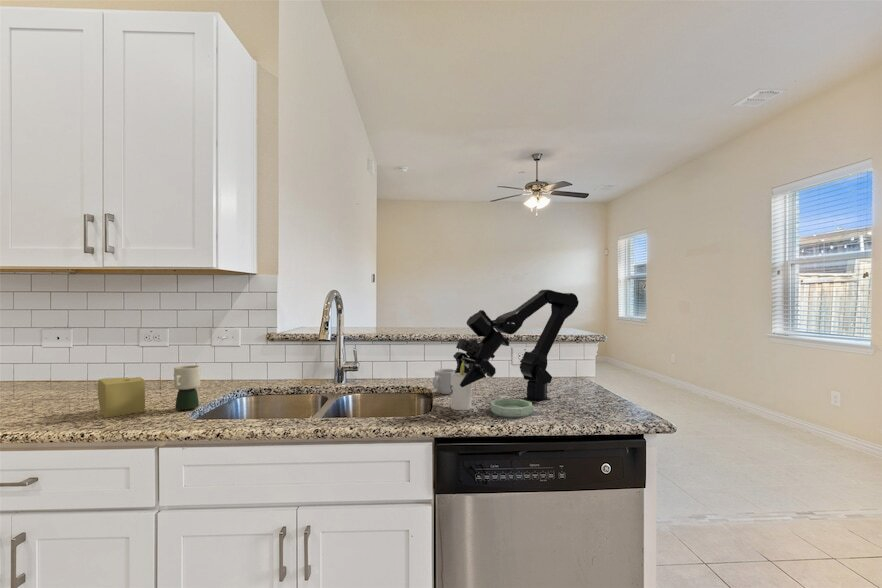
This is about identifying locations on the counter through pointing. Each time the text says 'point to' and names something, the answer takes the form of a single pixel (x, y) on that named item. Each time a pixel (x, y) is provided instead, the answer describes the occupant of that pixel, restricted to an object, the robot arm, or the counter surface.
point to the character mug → (187, 386)
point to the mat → (512, 417)
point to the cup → (443, 380)
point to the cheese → (121, 396)
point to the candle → (460, 391)
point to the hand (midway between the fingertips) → (456, 384)
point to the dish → (511, 407)
